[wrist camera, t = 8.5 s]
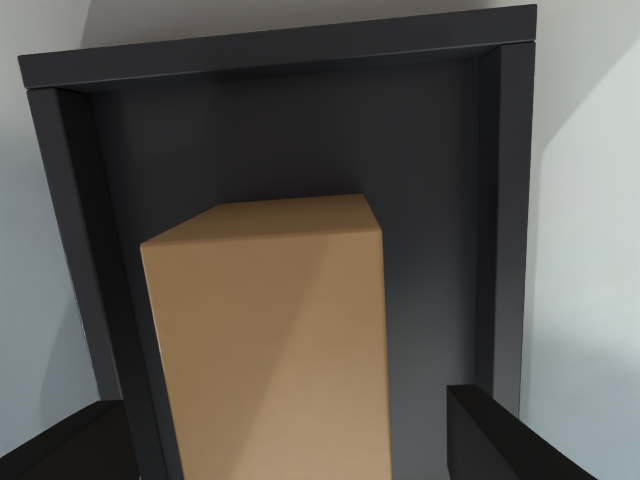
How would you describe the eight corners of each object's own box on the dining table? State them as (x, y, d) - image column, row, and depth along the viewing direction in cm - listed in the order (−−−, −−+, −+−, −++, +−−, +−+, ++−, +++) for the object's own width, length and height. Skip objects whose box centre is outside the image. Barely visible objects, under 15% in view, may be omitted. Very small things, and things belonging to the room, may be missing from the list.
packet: (377, 449, 14) (399, 615, 9) (253, 453, 14) (208, 617, 9) (363, 192, 12) (382, 227, 7) (218, 203, 12) (136, 243, 7)
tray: (488, 530, 15) (512, 590, 13) (169, 536, 16) (144, 594, 14) (501, 29, 11) (538, 2, 9) (71, 70, 12) (15, 54, 10)
